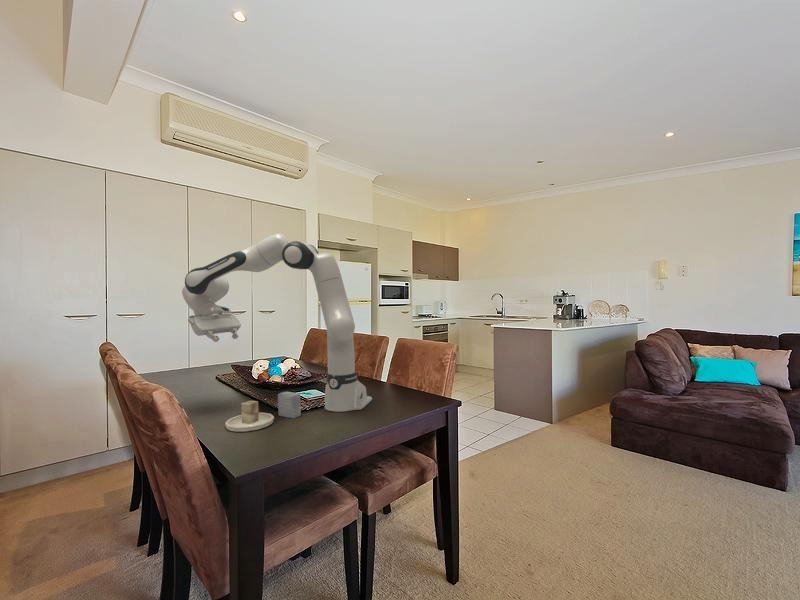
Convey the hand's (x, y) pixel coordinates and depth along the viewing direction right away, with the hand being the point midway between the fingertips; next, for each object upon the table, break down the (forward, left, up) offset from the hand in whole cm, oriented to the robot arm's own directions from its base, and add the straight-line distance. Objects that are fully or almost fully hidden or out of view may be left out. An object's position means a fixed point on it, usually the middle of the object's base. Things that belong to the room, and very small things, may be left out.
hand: (227, 339), depth 154 cm
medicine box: (-5, +26, -30) cm, 40 cm away
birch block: (+8, +19, -28) cm, 35 cm away
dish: (+8, +19, -29) cm, 36 cm away
